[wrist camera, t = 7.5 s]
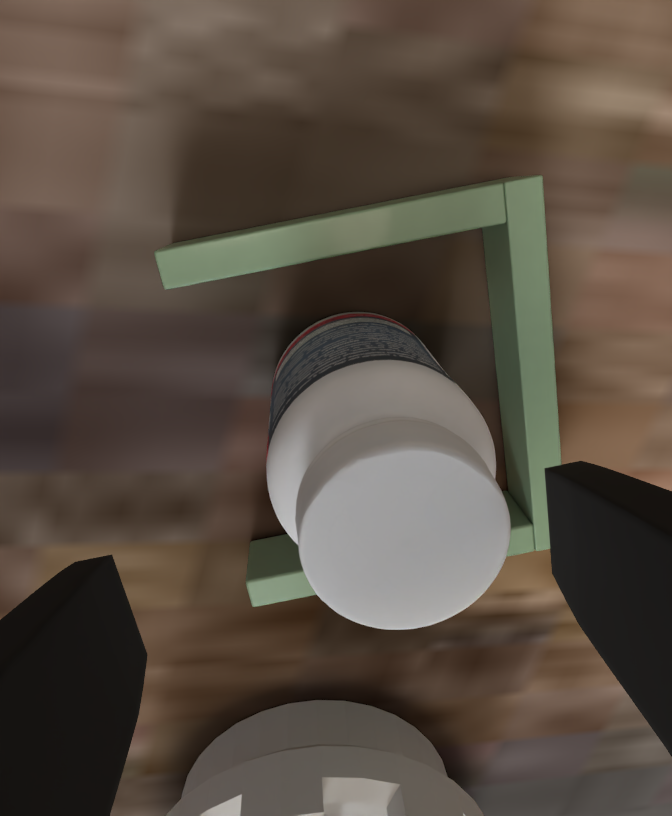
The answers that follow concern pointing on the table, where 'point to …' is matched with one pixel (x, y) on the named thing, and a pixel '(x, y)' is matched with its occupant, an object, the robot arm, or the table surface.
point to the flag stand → (322, 767)
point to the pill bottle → (383, 475)
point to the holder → (510, 316)
